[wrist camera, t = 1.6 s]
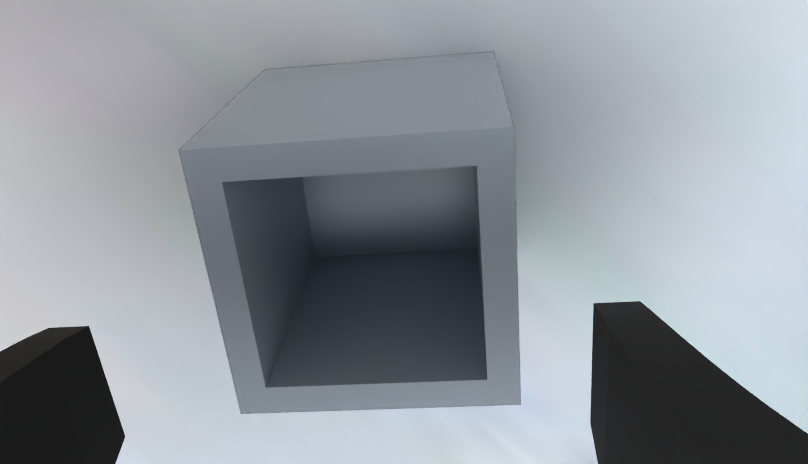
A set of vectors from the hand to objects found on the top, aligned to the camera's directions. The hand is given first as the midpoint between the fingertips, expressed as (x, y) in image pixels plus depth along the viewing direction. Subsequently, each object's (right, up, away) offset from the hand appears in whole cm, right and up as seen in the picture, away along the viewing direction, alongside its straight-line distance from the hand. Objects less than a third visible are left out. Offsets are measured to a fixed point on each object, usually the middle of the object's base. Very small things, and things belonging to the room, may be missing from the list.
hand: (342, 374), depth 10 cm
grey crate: (+1, +4, +8) cm, 8 cm away
